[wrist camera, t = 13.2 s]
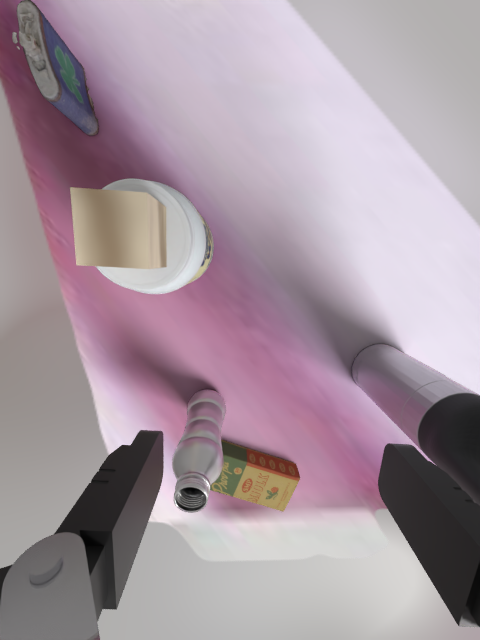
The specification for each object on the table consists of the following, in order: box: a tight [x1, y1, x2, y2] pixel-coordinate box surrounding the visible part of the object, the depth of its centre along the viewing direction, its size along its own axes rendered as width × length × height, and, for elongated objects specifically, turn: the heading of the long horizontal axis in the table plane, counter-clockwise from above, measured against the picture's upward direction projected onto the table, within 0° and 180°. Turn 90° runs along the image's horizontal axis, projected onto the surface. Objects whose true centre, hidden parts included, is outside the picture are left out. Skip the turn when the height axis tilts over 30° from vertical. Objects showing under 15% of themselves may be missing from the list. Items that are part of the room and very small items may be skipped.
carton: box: [210, 440, 300, 511], centre depth 49 cm, size 8×16×4 cm, turn 69°
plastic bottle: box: [172, 389, 226, 513], centre depth 38 cm, size 6×7×20 cm
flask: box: [13, 0, 99, 136], centre depth 31 cm, size 9×3×11 cm, turn 9°
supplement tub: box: [96, 179, 214, 294], centre depth 33 cm, size 12×12×17 cm
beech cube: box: [70, 187, 167, 269], centre depth 22 cm, size 6×6×6 cm
